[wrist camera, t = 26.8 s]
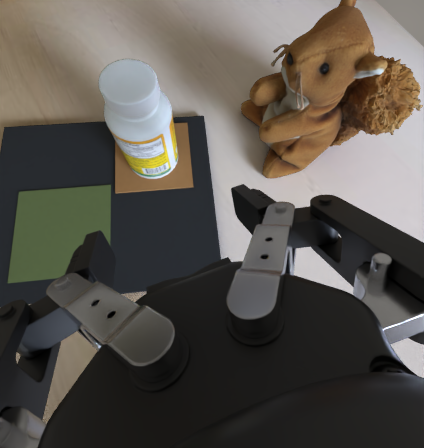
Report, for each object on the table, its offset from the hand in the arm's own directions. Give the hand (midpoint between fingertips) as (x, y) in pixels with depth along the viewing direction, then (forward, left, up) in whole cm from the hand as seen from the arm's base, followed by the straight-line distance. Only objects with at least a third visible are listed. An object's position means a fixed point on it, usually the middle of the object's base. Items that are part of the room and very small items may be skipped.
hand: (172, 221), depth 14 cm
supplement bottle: (-2, +10, -9) cm, 14 cm away
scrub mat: (-7, +6, -10) cm, 14 cm away
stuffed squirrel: (+15, +12, -10) cm, 21 cm away
